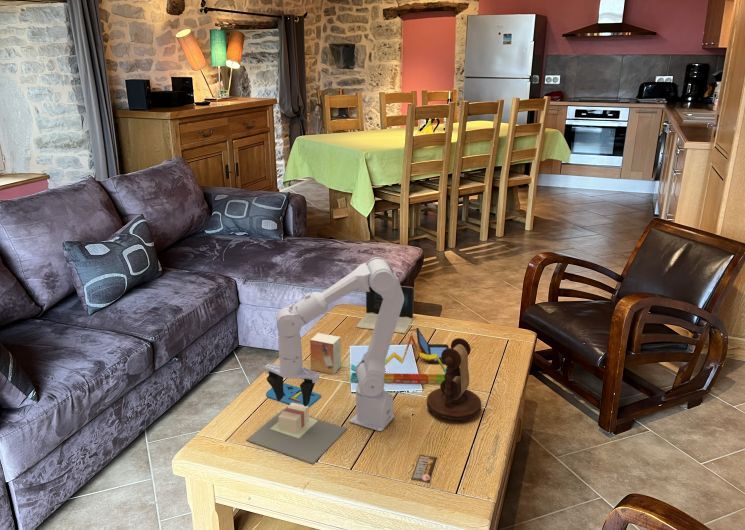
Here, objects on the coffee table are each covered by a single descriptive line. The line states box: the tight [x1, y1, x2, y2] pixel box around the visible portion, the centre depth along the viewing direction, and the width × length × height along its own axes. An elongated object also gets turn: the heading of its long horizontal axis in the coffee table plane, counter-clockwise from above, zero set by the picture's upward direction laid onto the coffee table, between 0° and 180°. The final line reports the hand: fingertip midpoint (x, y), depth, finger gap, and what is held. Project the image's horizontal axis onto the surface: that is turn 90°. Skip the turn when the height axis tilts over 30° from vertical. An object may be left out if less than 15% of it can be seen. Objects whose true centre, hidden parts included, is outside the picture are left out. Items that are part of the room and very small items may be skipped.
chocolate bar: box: [410, 454, 438, 484], centre depth 143 cm, size 11×5×1 cm, turn 164°
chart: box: [350, 333, 447, 385], centre depth 179 cm, size 30×3×15 cm, turn 87°
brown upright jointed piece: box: [426, 337, 482, 424], centre depth 164 cm, size 15×15×20 cm
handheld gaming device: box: [265, 382, 322, 408], centre depth 174 cm, size 8×1×15 cm
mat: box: [245, 408, 348, 465], centre depth 156 cm, size 20×16×1 cm
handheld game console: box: [415, 327, 450, 365], centre depth 196 cm, size 12×11×7 cm
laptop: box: [355, 285, 415, 334], centre depth 218 cm, size 18×12×13 cm
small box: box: [309, 332, 342, 375], centre depth 187 cm, size 8×6×10 cm
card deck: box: [279, 403, 310, 434], centre depth 159 cm, size 7×5×4 cm
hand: (293, 401), depth 157 cm, fingers open, 7 cm apart
